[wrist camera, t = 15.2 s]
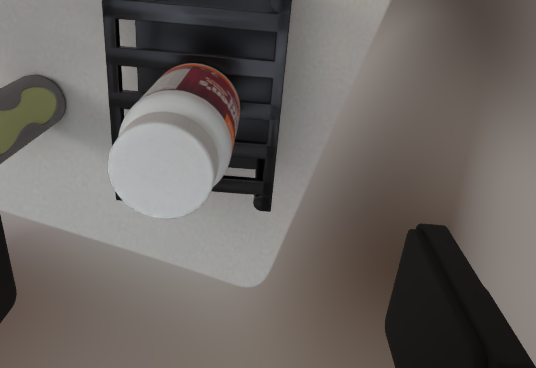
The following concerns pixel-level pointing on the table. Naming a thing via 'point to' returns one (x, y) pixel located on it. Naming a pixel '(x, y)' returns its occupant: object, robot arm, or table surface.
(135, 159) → the pill bottle
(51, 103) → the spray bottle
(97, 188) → the table surface
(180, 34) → the rack
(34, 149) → the table surface
